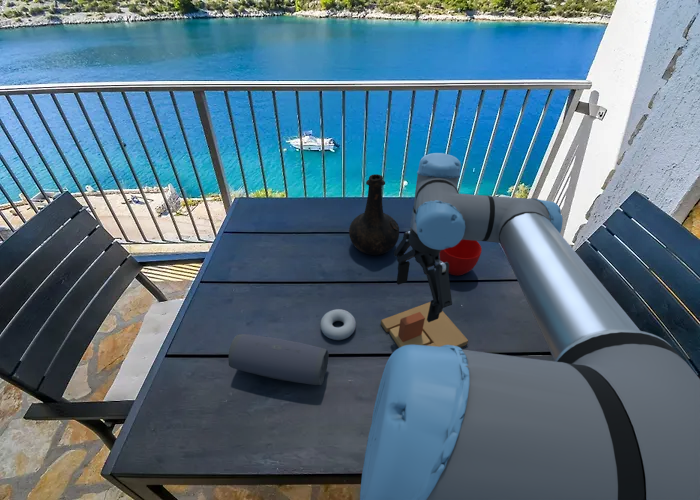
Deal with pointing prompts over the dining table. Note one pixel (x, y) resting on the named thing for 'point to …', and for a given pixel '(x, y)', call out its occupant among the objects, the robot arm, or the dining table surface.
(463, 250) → the ceramic cup
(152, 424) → the dining table surface
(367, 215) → the glass bottle
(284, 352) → the bluetooth speaker
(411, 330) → the open box
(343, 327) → the donut
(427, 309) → the base pad
